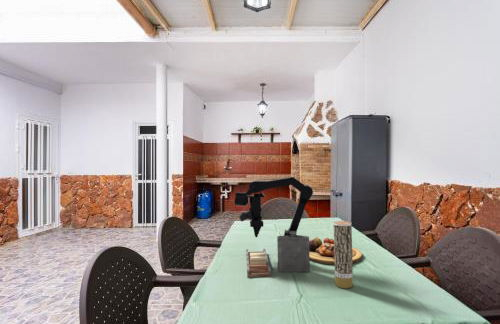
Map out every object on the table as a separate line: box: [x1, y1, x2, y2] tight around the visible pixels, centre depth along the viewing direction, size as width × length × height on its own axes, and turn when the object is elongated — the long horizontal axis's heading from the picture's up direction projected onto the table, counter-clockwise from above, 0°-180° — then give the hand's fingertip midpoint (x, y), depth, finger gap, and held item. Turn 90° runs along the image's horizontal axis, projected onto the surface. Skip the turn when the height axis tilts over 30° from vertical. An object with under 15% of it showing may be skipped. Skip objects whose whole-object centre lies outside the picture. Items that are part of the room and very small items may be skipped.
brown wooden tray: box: [245, 248, 272, 278], centre depth 134 cm, size 30×10×4 cm, turn 2°
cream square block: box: [250, 253, 266, 265], centre depth 128 cm, size 7×7×5 cm
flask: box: [276, 231, 311, 274], centre depth 125 cm, size 4×14×18 cm, turn 85°
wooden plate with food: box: [309, 236, 363, 266], centre depth 146 cm, size 32×32×8 cm
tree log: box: [333, 220, 354, 289], centre depth 109 cm, size 7×7×25 cm
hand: (256, 236), depth 137 cm, fingers closed
